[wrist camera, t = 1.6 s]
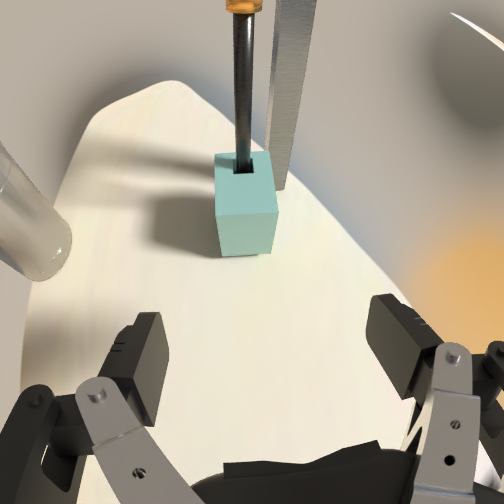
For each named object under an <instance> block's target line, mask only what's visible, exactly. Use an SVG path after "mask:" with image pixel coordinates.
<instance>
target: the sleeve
mask: <svg viewBox="0 0 504 504" xmlns="http://www.w3.org/2000/svg"><path fill="white" fill-rule="evenodd" d="M278 213H279V211H278V204H277V197H276V191H275V184H274V178H273V172H272V165H271V159H270V153H269V151H259V152H250V173H249V174H236V153H220V154H215V216H216V223H217V229H218V235H219V241H220V247H221V253H222V257H223V256H239V255H254V254H270V253H271V250H272V245H273V239H274V234H275V229H276V224H277V219H278Z"/></svg>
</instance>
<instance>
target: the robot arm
mask: <svg viewBox="0 0 504 504" xmlns="http://www.w3.org/2000/svg"><path fill="white" fill-rule="evenodd" d="M71 243H72V234H71V229H70V227H69V225H68V224H67V223H66V221H65V220H64V219H63V218H62V217H61V216H60V215H59V214H58V213H57V211H56V210H55V209H54V208H53V207H52V205H51V204H50V203H49V202H48V201H47V200H46V199H45V197H44V196H43V195H42V194H41V193H40V192H39V191H38V189H37V188H36V187H35V186H34V184H33V183H32V182H31V181H30V179H29V178H28V177H27V176H26V174H25V173H24V172H23V171H22V169H21V168H20V167H19V166H18V164H17V163H16V162H15V160H14V159H13V158H12V156H11V155H10V154H9V153H8V152H7V150H6V149H5V147H4V146H3V145H2V143H1V142H0V259H1V260H2V261H3V262H5V263H6V264H8V265H9V266H11V267H12V268H14V269H15V270H17V271H18V272H20V273H21V274H23V275H24V276H26V277H27V278H29V279H31V280H33V281H43V280H46V279H48V278H50V277H52V276H53V275H54V274H56V273H57V271H58V270H59V269H60V268H61V267H62V265H63V264H64V263H65V261H66V259H67V257H68V254H69V251H70V248H71ZM366 339H367V342H368V344H369V346H370V348H371V349H372V351H373V353H374V354H375V356H376V357H377V359H378V361H379V362H380V364H381V366H382V367H383V369H384V371H385V372H386V374H387V376H388V377H389V379H390V381H391V382H392V384H393V386H394V387H395V389H396V391H397V392H398V394H399V396H400V398H401V399H402V400H404V399H407V398H411V397H414V398H415V402H414V404H413V407H412V411H411V415H410V419H409V422H408V426H407V429H406V433H405V436H404V439H403V442H402V445H401V448H400V450H396V449H381V448H380V446H379V443H378V441H377V440H374V441H371V442H367V443H363V444H359V445H355V446H351V447H347V448H342V449H340V450H338V451H336V452H334V453H331V454H329V455H327V456H324V457H322V458H320V459H317V460H315V461H312V462H310V463H306V464H296V463H282V462H271V461H252V462H235V463H223V467H224V473H220V474H216V475H213V476H210V477H207V478H205V479H203V480H200V481H199V482H197V483H195V484H193V485H192V486H189V485H188V484H187V483H186V481H185V480H184V479H183V478H182V477H181V475H180V474H179V473H178V472H177V471H176V469H175V468H174V467H173V465H172V464H171V463H170V462H169V460H168V459H167V458H166V456H165V455H164V454H163V452H162V451H161V450H160V448H159V447H158V446H157V444H156V443H155V441H154V440H153V439H152V437H151V436H150V434H149V433H148V431H147V430H146V429H145V427H144V426H148V427H154V425H155V420H156V415H157V411H158V406H159V401H160V397H161V392H162V388H163V383H164V379H165V375H166V370H167V366H168V362H169V347H168V342H167V338H166V334H165V330H164V326H163V321H162V317H161V314H160V313H159V312H140V313H139V314H138V316H137V318H136V320H135V322H134V324H133V325H127V326H126V327H125V328H124V329H123V330H122V331H120V332H119V333H118V335H117V337H116V339H115V341H114V344H113V345H112V347H111V349H110V352H109V353H108V355H107V357H106V359H105V361H104V363H103V365H102V368H101V370H100V372H99V374H98V376H97V377H94V378H91V379H88V380H86V381H85V382H83V383H82V384H81V385H80V386H79V387H78V389H77V391H76V394H69V395H62V396H54V394H53V392H52V390H51V389H50V388H49V387H48V386H46V385H41V384H38V385H33V386H30V387H28V388H27V389H25V390H24V391H23V392H22V393H21V395H20V396H19V398H18V400H17V402H16V403H15V405H14V407H13V409H12V411H11V413H10V415H9V417H8V419H7V421H6V423H5V425H4V427H3V429H2V431H1V433H0V504H76V503H77V497H78V493H79V488H80V483H81V479H82V474H83V470H84V466H85V462H86V458H87V455H94V454H95V456H96V458H97V461H98V463H99V465H100V467H101V469H102V471H103V473H104V475H105V477H106V478H107V480H108V482H109V484H110V486H111V488H112V489H113V491H114V493H115V495H116V497H117V498H118V500H119V502H120V503H121V504H504V410H503V409H502V407H501V406H500V404H499V403H498V401H497V400H496V398H497V396H498V395H499V393H500V391H501V390H503V391H504V342H502V341H493V342H491V343H490V344H489V346H488V348H487V351H486V353H485V354H470V352H469V351H468V350H467V349H466V348H465V347H464V346H462V345H460V344H457V343H452V342H447V343H444V342H443V340H442V339H441V338H440V337H439V336H438V335H437V334H436V333H435V332H434V331H433V330H432V329H431V327H430V326H429V325H428V324H426V322H425V321H424V320H423V319H422V318H421V317H420V316H419V315H418V313H417V312H416V311H415V310H414V309H412V308H410V307H408V306H406V305H405V304H401V303H400V302H399V301H398V299H397V298H396V297H395V296H394V295H393V294H391V293H389V294H382V295H375V296H373V297H372V299H371V302H370V308H369V314H368V320H367V325H366ZM479 440H480V441H481V443H482V445H483V447H484V449H485V450H486V452H487V454H488V456H489V458H490V460H491V462H492V463H493V465H494V467H495V469H496V471H497V473H498V475H499V477H500V479H501V488H500V489H499V490H498V491H497V490H494V489H492V488H489V487H486V486H484V485H481V484H479V483H476V482H474V476H475V470H476V462H477V454H478V444H479ZM46 445H48V447H47V450H46V453H45V456H44V459H43V462H42V465H41V460H42V457H43V454H44V451H45V448H46Z"/></svg>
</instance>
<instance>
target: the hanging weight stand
mask: <svg viewBox="0 0 504 504" xmlns="http://www.w3.org/2000/svg"><path fill="white" fill-rule="evenodd" d="M316 2H317V0H276V12H275V24H274V25H275V26H274V38H273V50H272V63H271V76H270V89H269V101H268V115H267V127H266V138H265V151H269V153H270V159H271V165H272V172H273V178H274V184H275V190H284V188H285V182H286V177H287V172H288V166H289V161H290V156H291V150H292V145H293V139H294V133H295V128H296V122H297V117H298V111H299V105H300V100H301V94H302V88H303V82H304V76H305V70H306V65H307V58H308V52H309V46H310V40H311V34H312V27H313V21H314V15H315V8H316ZM226 10H227V11H229V12H232V13H233V35H234V37H233V41H234V96H235V139H236V174H249V173H250V147H251V112H252V111H251V109H252V78H253V77H252V76H253V46H254V45H253V44H254V16H255V13H256V12H259V11H261V10H262V0H226Z"/></svg>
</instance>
